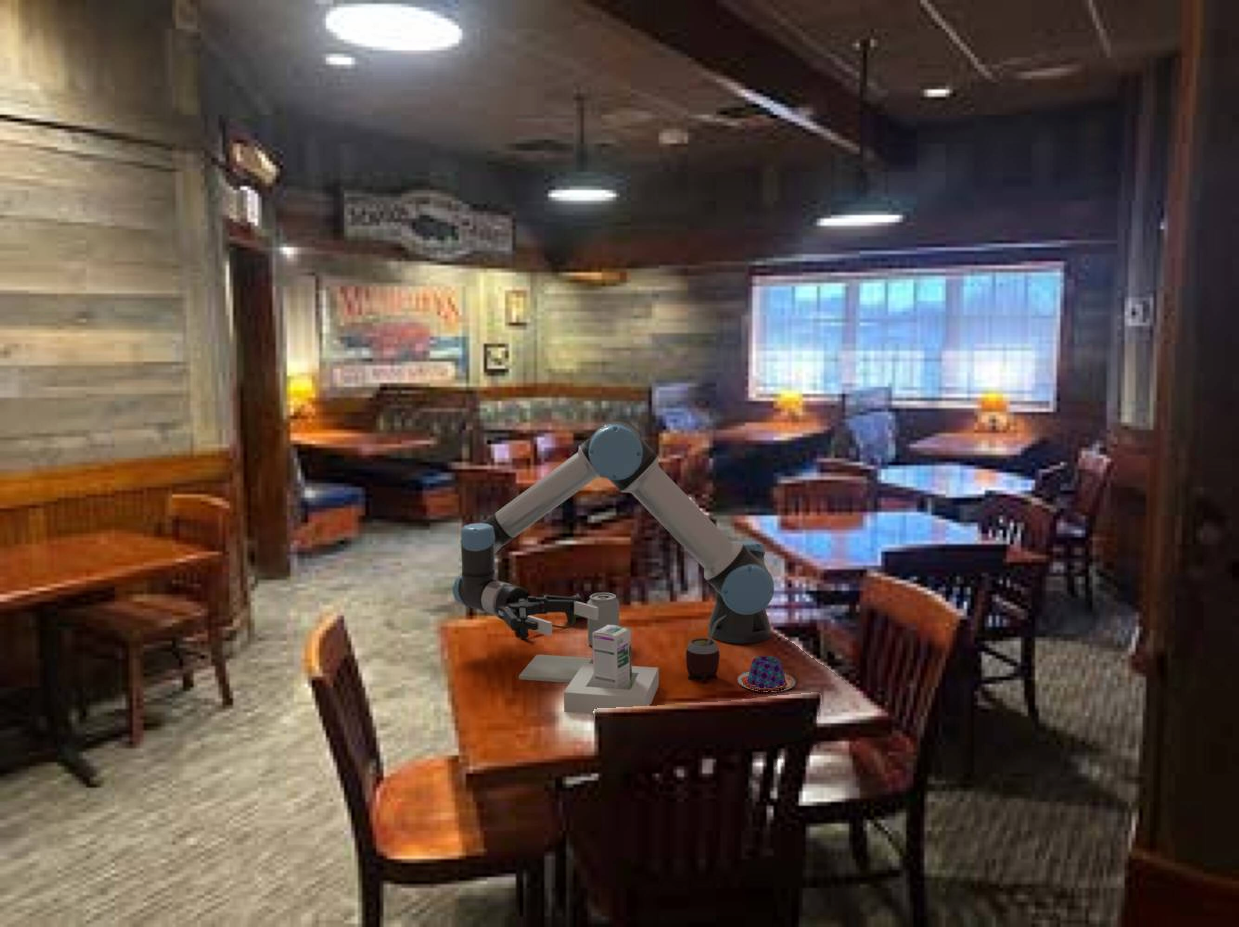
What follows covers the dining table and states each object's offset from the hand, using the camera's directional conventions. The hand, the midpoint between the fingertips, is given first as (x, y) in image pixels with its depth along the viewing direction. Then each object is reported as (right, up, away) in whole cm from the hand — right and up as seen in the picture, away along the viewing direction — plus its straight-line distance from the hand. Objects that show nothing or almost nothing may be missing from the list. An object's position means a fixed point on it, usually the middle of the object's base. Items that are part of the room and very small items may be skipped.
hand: (574, 621), depth 185 cm
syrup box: (+8, -15, -4) cm, 18 cm away
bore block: (+8, -15, -4) cm, 17 cm away
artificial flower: (-7, -9, +40) cm, 42 cm away
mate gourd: (+27, -13, +6) cm, 31 cm away
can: (+6, -10, +27) cm, 30 cm away
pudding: (+40, -14, +3) cm, 43 cm away
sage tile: (-5, -13, +11) cm, 18 cm away
